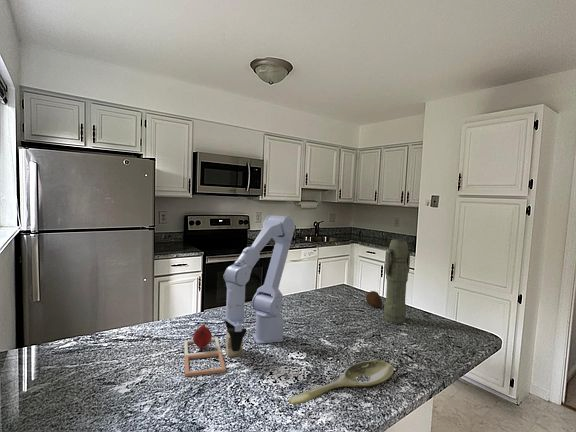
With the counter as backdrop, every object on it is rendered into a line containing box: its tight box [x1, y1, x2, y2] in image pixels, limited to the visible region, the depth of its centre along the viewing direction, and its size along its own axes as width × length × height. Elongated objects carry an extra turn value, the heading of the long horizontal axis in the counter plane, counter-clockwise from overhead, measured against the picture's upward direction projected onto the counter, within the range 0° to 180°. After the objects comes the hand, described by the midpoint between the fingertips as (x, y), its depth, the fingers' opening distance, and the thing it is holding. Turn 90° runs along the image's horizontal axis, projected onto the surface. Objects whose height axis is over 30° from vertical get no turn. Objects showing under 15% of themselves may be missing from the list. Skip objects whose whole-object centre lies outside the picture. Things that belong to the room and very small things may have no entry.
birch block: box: [225, 332, 244, 358], centre depth 105 cm, size 4×4×6 cm
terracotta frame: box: [184, 351, 227, 378], centre depth 97 cm, size 11×11×1 cm
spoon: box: [288, 360, 395, 405], centre depth 89 cm, size 35×11×2 cm, turn 121°
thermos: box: [383, 238, 411, 325], centre depth 141 cm, size 9×12×35 cm
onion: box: [192, 323, 213, 349], centre depth 107 cm, size 6×6×8 cm
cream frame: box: [183, 337, 222, 356], centre depth 107 cm, size 11×11×1 cm
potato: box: [365, 290, 383, 308], centre depth 161 cm, size 7×10×7 cm
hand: (233, 345), depth 105 cm, fingers open, 7 cm apart
